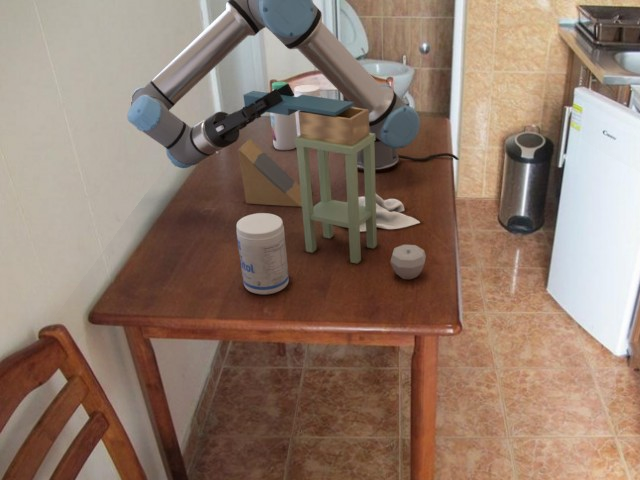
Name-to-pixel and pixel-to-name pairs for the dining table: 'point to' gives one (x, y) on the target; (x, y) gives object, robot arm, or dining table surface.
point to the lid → (301, 104)
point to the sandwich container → (266, 179)
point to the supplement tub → (262, 253)
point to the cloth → (389, 214)
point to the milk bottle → (283, 127)
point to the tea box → (335, 126)
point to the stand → (335, 210)
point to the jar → (309, 91)
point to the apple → (408, 261)
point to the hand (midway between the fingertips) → (284, 92)
